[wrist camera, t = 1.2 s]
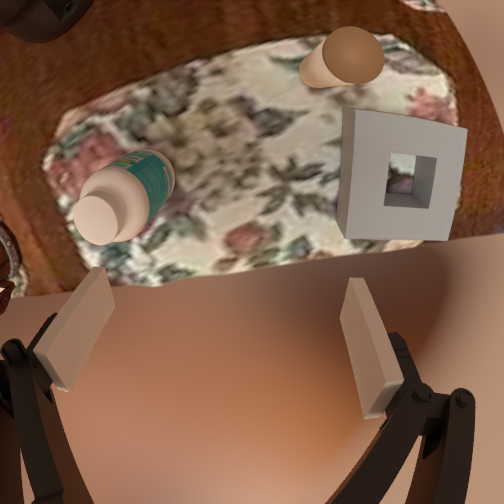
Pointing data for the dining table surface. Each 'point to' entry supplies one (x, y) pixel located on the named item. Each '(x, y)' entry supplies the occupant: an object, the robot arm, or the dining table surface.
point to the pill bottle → (123, 197)
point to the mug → (7, 265)
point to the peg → (343, 59)
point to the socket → (376, 170)
